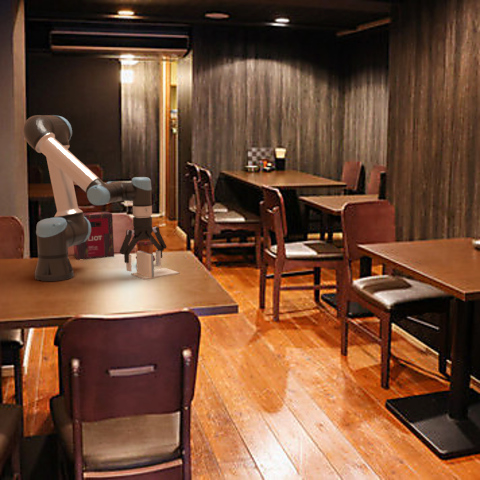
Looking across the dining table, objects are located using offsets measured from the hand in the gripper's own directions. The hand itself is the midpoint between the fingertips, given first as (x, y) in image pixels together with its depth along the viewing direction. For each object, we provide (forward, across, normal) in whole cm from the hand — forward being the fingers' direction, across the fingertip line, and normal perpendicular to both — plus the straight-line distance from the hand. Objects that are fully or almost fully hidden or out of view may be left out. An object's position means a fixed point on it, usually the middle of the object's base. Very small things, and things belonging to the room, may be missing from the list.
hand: (144, 268), depth 267 cm
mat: (+3, +5, 0) cm, 6 cm away
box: (+4, +2, +49) cm, 50 cm away
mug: (+3, +11, +18) cm, 22 cm away
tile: (+2, 0, -1) cm, 3 cm away
